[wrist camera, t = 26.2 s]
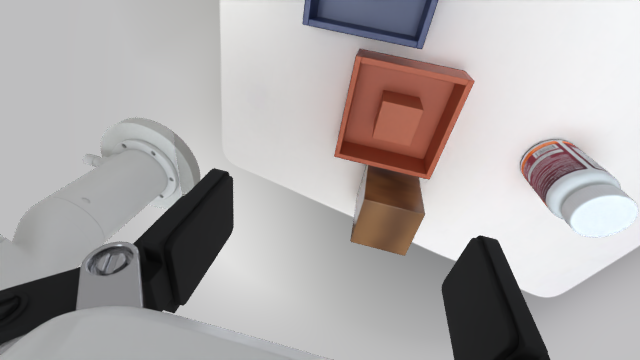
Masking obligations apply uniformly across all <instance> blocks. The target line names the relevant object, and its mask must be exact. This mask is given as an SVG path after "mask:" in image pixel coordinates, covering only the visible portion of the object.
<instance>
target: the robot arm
mask: <svg viewBox="0 0 640 360" xmlns="http://www.w3.org/2000/svg"><path fill="white" fill-rule="evenodd" d="M83 162H84V163H85V164H88V165H92V166H98V167H97V168H95V169H93V170H92V171H90V172H88V173H87V174H85V175H83V176H82V177H80V178H78V179H77V180H75V181H73V182H72V183H70V184H68V185H67V186H65V187H63V188H61V189H60V190H58V191H56V192H55V193H53V194H52V195H50V196H48V197H46V198H45V199H43V200H41V201H40V202H38V203H37V204H35V205H34V206H32V207H31V208H30V209H29V210H28V211H27V212H26V213H25V214H24V216H23V217H22V218H21V220H20V222H19V224H18V227H17V229H16V232H15V235H14V238H13V241H12V242H11V241H9V240H8V239H7V238H4V237H3V236H2V235H1V234H0V360H331V359H328V358H325V357H321V356H318V355H314V354H311V353H308V352H304V351H301V350H298V349H294V348H290V347H287V346H284V345H280V344H277V343H273V342H270V341H267V340H263V339H260V338H256V337H252V336H249V335H245V334H242V333H239V332H235V331H231V330H228V329H225V328H221V327H217V326H214V325H211V324H207V323H203V322H199V321H196V320H192V319H188V318H184V317H181V316H177V315H173V314H169V313H164V312H162V311H163V310H165V311H168V312H172V313H175V311H176V310H177V309H178V307H179V306H180V305H184V304H186V302H187V301H188V300H189V298H190V296H191V295H192V293H193V292H194V290H195V289H196V287H197V286H198V284H199V283H200V281H201V280H202V278H203V276H204V275H205V273H206V272H207V270H208V269H209V267H210V266H211V264H212V263H213V261H214V260H215V258H216V256H217V255H218V253H219V252H220V250H221V249H222V247H223V246H224V244H225V243H226V241H227V240H228V238H229V237H230V235H231V233H232V230H233V178H232V177H231V176H229V173H228V172H227V171H223V170H218V169H215V168H214V169H212V170H211V171H210V172H209V173H208V174H207V175H206V176H205V177H204V178H203V179H202V180H201V181H200V182H199V183H198V184H197V185H196V186H195V187H194V188H193V189H192V190H191V191H190V192H189V193H188V194H187V195H185V196H182V197H181V198H179V199H178V200H177V201H176V202H175V203H174V204H173V205H172V206H171V207H170V208H169V209H168V210H167V211H166V212H165V213H164V214H163V215H162V216H161V217H160V218H159V219H158V220H157V221H156V222H155V223H154V224H153V225H152V226H151V227H150V228H149V229H148V230H147V231H146V232H145V233H144V234H143V235H142V236H141V237H140V238H139V239H138V240H137V241H136V242H134V244H131V243H128V242H113V243H109V244H106V245H103V244H104V243H105V242H106V241H107V240H108V239H110V238H111V237H112V236H113V235H114V234H115V233H116V232H117V231H119V230H120V229H121V228H122V227H123V226H124V225H125V224H127V223H128V222H129V221H130V220H131V219H132V218H133V217H135V216H136V215H137V214H138V213H139V212H140V211H141V210H142V209H144V208H145V207H146V206H147V205H148V204H149V203H150V202H152V201H153V200H154V199H155V200H162V199H166V198H168V197H170V196H171V195H172V194H173V193H174V192H175V191H176V190H177V188H178V183H179V179H178V174H177V171H176V169H175V167H174V165H173V163H172V162H171V160H170V159H169V158H168V157H167V156H166V154H165V153H163V152H162V151H161V150H160V149H159V148H157V147H156V146H154V145H152V144H150V143H148V142H146V141H143V140H139V139H127V140H123V141H122V142H120V143H118V144H117V145H116V146H115V147H114V149H113V151H112V155H111V156H109V157H102V158H101V157H99V156H96V155H92V154H87V155H85V156H84V158H83ZM100 246H101V247H100ZM81 263H82V265H81V267H79V268H77V267H78V266H79V265H80V264H81ZM442 295H443V300H444V306H445V311H446V316H447V322H448V327H449V333H450V338H451V344H452V349H453V355H454V360H550V358H549V355H548V351H547V349H546V346H545V344H544V342H543V340H542V338H541V335H540V333H539V331H538V329H537V327H536V324H535V322H534V320H533V317H532V315H531V313H530V311H529V308H528V307H527V304H526V302H525V300H524V297H523V295H522V293H521V291H520V288H519V286H518V284H517V282H516V279H515V277H514V275H513V273H512V271H511V268H510V266H509V264H508V262H507V259H506V257H505V255H504V253H503V250H502V248H501V246H500V244H499V242H498V240H496V239H493V238H489V237H485V236H478V237H477V238H472V239H471V240H470V242H469V243H468V245H467V246H466V248H465V249H464V251H463V252H462V254H461V256H460V257H459V259H458V260H457V262H456V263H455V265H454V267H453V268H452V269H451V271H450V273H449V274H448V276H447V277H446V279H445V280H444V282H443V284H442Z"/></svg>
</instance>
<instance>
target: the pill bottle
mask: <svg viewBox="0 0 640 360" xmlns="http://www.w3.org/2000/svg"><path fill="white" fill-rule="evenodd" d="M521 172H522V174H523V176H524V177H525V179H526V180H527V181H528V182H529V184H530V185H531V186H532V188H533V189H534V190H535V192H536V193H537V194H538V196H539V197H540V198H541V199H542V201H543V202H544V203H545V205H546V206H547V207H548V208H549V210H550V211H551V212H552V213H553V214H554V215H555V216H557V217H559V218H561V219H563V220H565V221H566V223H567V224H568V225H569V226H570V227H571V228H572V229H573V230H574V231H575V232H576V233H578V234H580V235H582V236H586V237H595V238H596V237H606V236H610V235H613V234H616V233H618V232H621V231H622V230H624V229H626V228H627V227H629V226H630V225H631V224H632V223H633V222H634V221H635V219H636V218H637V215H638V206H637V204H636V203H635V202H634V201H633V200H632V199H631V198H630V197H629V196H628V195H627V194H626V193H625V192H624V191H622V190H621V186H620V184H619V182H618V181H617V179H616V178H615V177H613V176H612V175H611V174H610V173H609V172H607V171H606V170H605V169H604V168H602V167H601V166H600V165H599V164H597V163H596V162H595V161H594V160H592V159H591V158H590V157H589V156H587V155H586V154H585V153H584V152H582V151H581V150H580V149H579V148H577V147H576V146H575V145H573V144H571V143H570V142H567V141H563V140H549V141H545V142H542V143H540V144H538V145H536V146H534V147H533V148H531V149H530V150H529V151H528V152H527V153H526V154H525V156H524V157H523V159H522V161H521Z"/></svg>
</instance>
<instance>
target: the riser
mask: <svg viewBox="0 0 640 360" xmlns="http://www.w3.org/2000/svg"><path fill="white" fill-rule="evenodd" d="M424 216H425V212H424V206H423V200H422V194H421V188H420V182H419V177H417V176H413V175H408V174H404V173H400V172H396V171H392V170H388V169H384V168H379V167H375V166H371V165H366V168H365V172H364V175H363V178H362V182H361V185H360V189H359V192H358V195H357V201H356V208H355V214H354V221H353V228H352V235H351V242H354V243H358V244H362V245H365V246H370V247H373V248H377V249H381V250H385V251H389V252H392V253H397V254H400V255H405V254H406V252H407V250H408V248H409V246H410V244H411V242H412V240H413V238H414V236H415V234H416V232H417V230H418V228H419V226H420V224H421V222H422V220H423V218H424Z"/></svg>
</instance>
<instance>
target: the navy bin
mask: <svg viewBox="0 0 640 360" xmlns="http://www.w3.org/2000/svg"><path fill="white" fill-rule="evenodd" d="M437 3H438V0H305V6H304V15H303V25H309V26H313V27H318V28H322V29H327V30H332V31H337V32H342V33H346V34H351V35H356V36H361V37H365V38H370V39H375V40H380V41H385V42H389V43H394V44H399V45H404V46H409V47H413V48H418V49H422V48H423V45H424V42H425V39H426V36H427V33H428V30H429V27H430V24H431V21H432V18H433V15H434V12H435V9H436V6H437Z"/></svg>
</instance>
